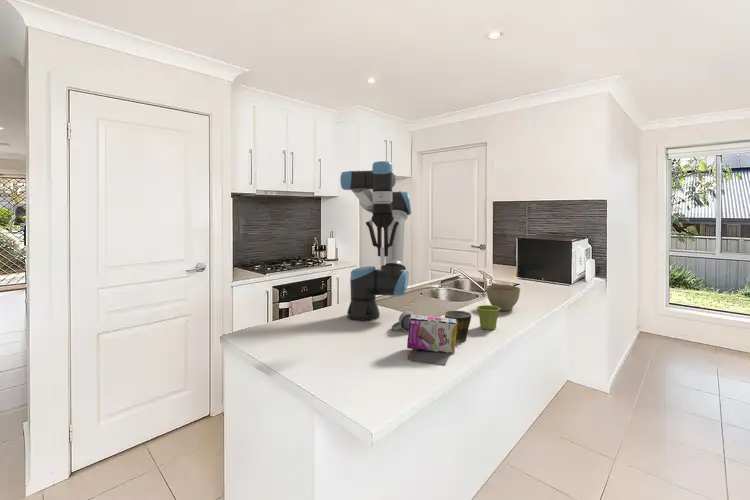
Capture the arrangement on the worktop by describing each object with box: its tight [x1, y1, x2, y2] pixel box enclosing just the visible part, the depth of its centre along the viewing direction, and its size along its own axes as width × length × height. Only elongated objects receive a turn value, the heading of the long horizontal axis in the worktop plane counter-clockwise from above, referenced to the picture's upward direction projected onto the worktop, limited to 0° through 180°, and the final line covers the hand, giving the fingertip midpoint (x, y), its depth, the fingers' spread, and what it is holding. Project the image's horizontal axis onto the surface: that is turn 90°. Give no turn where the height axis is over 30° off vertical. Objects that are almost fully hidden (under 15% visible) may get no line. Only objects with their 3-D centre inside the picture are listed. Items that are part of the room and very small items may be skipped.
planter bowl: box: [485, 284, 521, 312], centre depth 189 cm, size 16×16×11 cm
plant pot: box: [476, 304, 501, 331], centre depth 158 cm, size 9×9×9 cm
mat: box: [410, 350, 451, 366], centre depth 129 cm, size 11×16×1 cm
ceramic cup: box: [444, 310, 472, 343], centre depth 142 cm, size 13×10×10 cm
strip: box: [407, 349, 418, 361], centre depth 131 cm, size 2×14×1 cm, turn 160°
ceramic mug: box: [391, 310, 416, 333], centre depth 157 cm, size 11×8×8 cm
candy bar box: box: [406, 314, 457, 354], centre depth 131 cm, size 11×5×16 cm
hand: (383, 264), depth 146 cm, fingers closed
